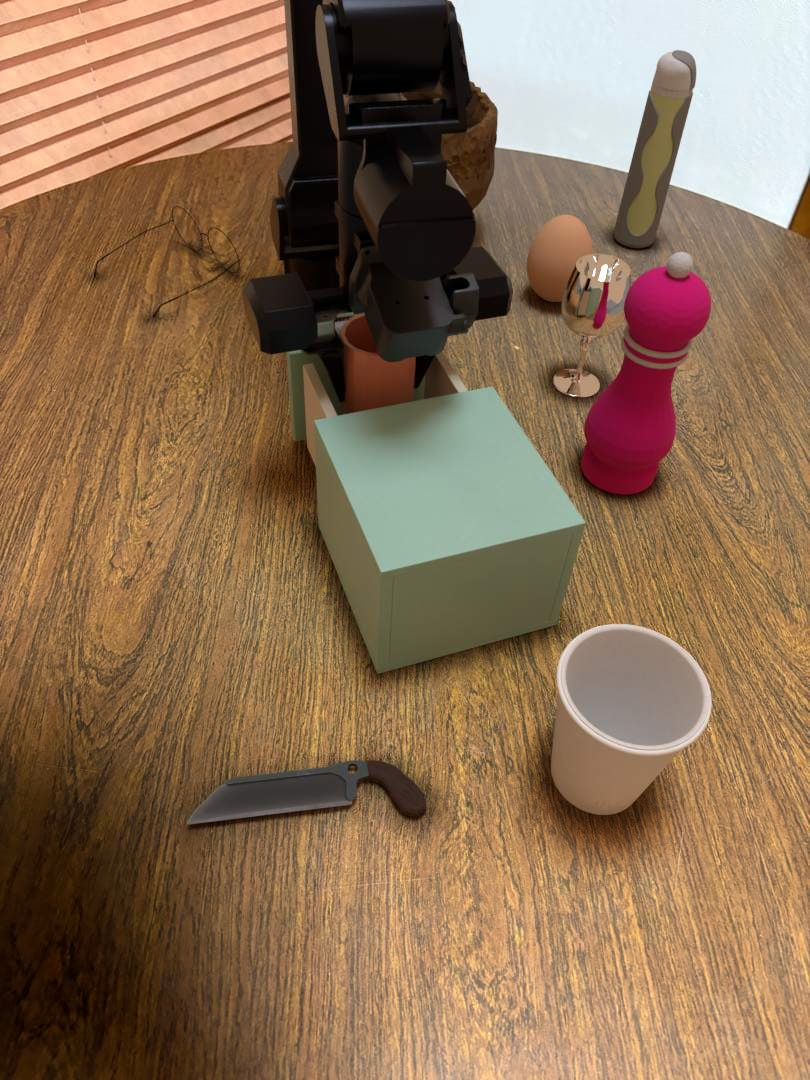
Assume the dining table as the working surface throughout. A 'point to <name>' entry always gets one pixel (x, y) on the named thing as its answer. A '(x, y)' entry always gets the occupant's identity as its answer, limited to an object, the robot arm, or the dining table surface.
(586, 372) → the wineglass
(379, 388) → the cup
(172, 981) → the dining table surface
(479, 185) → the bowl
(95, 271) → the eyeglasses
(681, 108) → the grey yellow cylinder
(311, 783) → the knife
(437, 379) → the drawer
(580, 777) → the dixie cup
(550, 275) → the egg
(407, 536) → the cabinet
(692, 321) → the pepper mill
